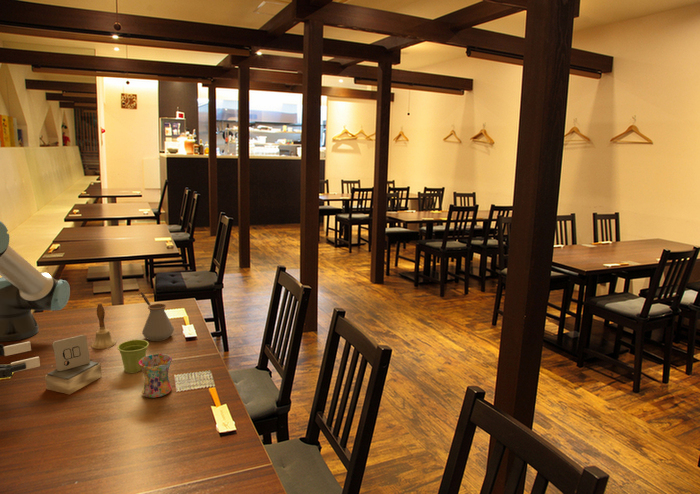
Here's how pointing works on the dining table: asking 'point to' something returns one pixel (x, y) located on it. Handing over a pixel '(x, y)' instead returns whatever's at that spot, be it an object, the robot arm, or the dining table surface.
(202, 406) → the dining table surface
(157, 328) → the coffee pot
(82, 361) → the electrical switch
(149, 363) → the mug
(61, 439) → the dining table surface
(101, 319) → the hand bell
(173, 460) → the dining table surface
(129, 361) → the plant pot
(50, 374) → the birch stand
